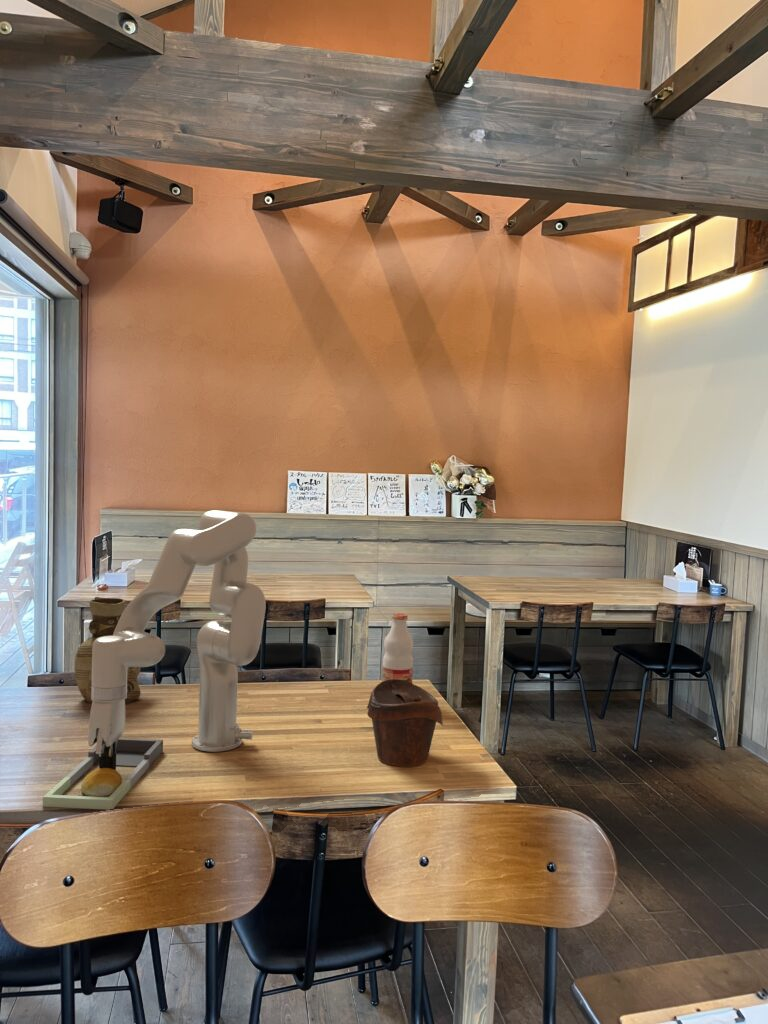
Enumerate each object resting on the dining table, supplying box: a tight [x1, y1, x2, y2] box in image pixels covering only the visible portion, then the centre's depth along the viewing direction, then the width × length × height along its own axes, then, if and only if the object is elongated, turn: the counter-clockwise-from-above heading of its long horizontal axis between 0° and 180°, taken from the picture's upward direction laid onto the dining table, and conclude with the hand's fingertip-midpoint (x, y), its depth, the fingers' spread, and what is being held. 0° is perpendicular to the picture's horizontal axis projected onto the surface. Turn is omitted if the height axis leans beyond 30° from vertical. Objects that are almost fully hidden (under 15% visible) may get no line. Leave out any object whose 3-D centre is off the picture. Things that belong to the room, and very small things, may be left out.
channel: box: [42, 737, 164, 811], centre depth 166 cm, size 14×32×3 cm, turn 179°
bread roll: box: [80, 768, 123, 797], centre depth 160 cm, size 8×9×4 cm
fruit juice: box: [381, 613, 414, 684], centre depth 226 cm, size 9×9×28 cm
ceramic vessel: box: [74, 597, 142, 705], centre depth 221 cm, size 19×21×30 cm
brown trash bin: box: [366, 679, 444, 768], centre depth 184 cm, size 18×20×18 cm
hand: (107, 771), depth 166 cm, fingers closed
